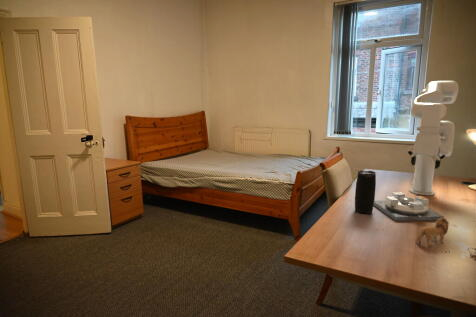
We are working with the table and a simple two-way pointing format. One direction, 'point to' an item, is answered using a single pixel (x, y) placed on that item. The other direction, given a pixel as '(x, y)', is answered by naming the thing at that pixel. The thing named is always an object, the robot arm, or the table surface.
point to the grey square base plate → (407, 217)
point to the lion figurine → (434, 231)
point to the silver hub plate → (407, 204)
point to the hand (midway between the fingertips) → (424, 166)
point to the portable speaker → (365, 191)
